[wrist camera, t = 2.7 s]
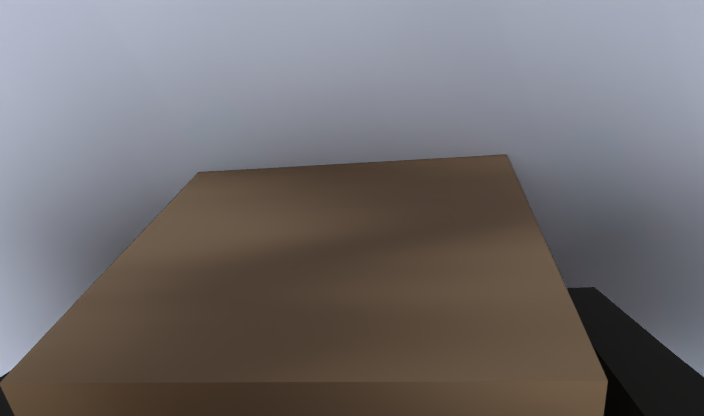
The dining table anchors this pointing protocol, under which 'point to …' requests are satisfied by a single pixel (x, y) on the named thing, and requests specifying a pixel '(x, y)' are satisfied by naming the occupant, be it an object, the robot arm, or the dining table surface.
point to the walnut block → (325, 304)
